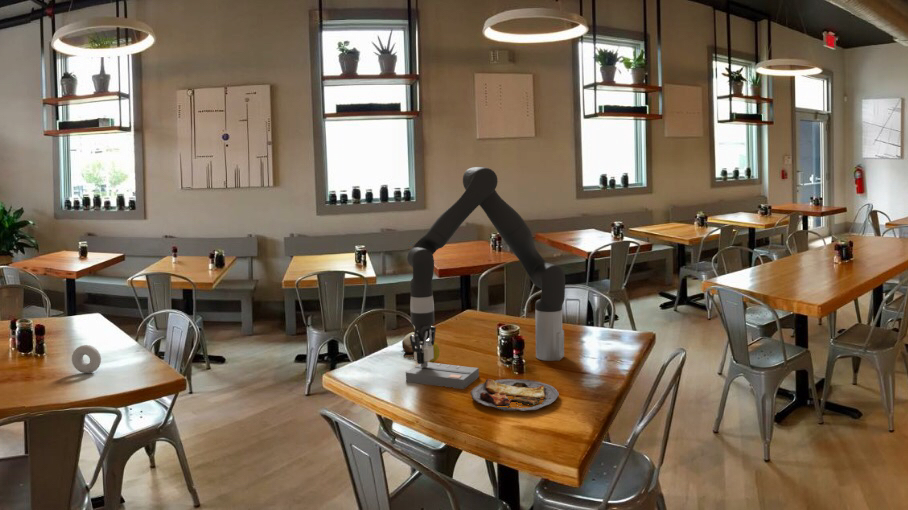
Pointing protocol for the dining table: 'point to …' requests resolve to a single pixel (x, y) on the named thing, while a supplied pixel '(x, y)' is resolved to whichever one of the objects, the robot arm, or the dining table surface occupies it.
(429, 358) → the fader knob
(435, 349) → the lemon
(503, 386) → the food plate
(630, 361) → the dining table surface
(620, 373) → the dining table surface
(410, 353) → the skull
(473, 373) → the slider console
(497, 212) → the robot arm
